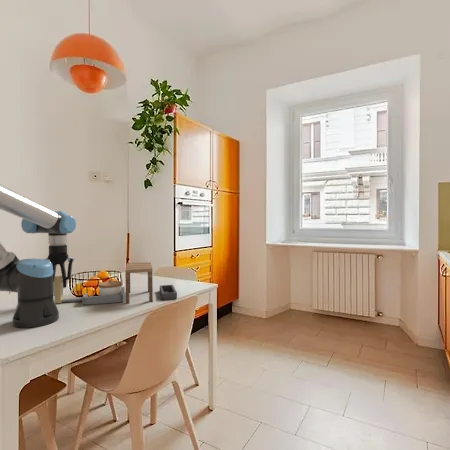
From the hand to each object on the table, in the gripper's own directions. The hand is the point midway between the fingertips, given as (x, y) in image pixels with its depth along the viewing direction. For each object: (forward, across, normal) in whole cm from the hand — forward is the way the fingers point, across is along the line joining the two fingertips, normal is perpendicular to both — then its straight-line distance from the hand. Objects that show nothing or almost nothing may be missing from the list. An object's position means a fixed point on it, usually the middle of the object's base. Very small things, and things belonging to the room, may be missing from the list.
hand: (58, 294), depth 144 cm
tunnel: (+4, -36, 0) cm, 36 cm away
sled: (+3, -14, 0) cm, 14 cm away
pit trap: (+4, -50, 0) cm, 50 cm away
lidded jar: (+4, -23, 0) cm, 23 cm away
